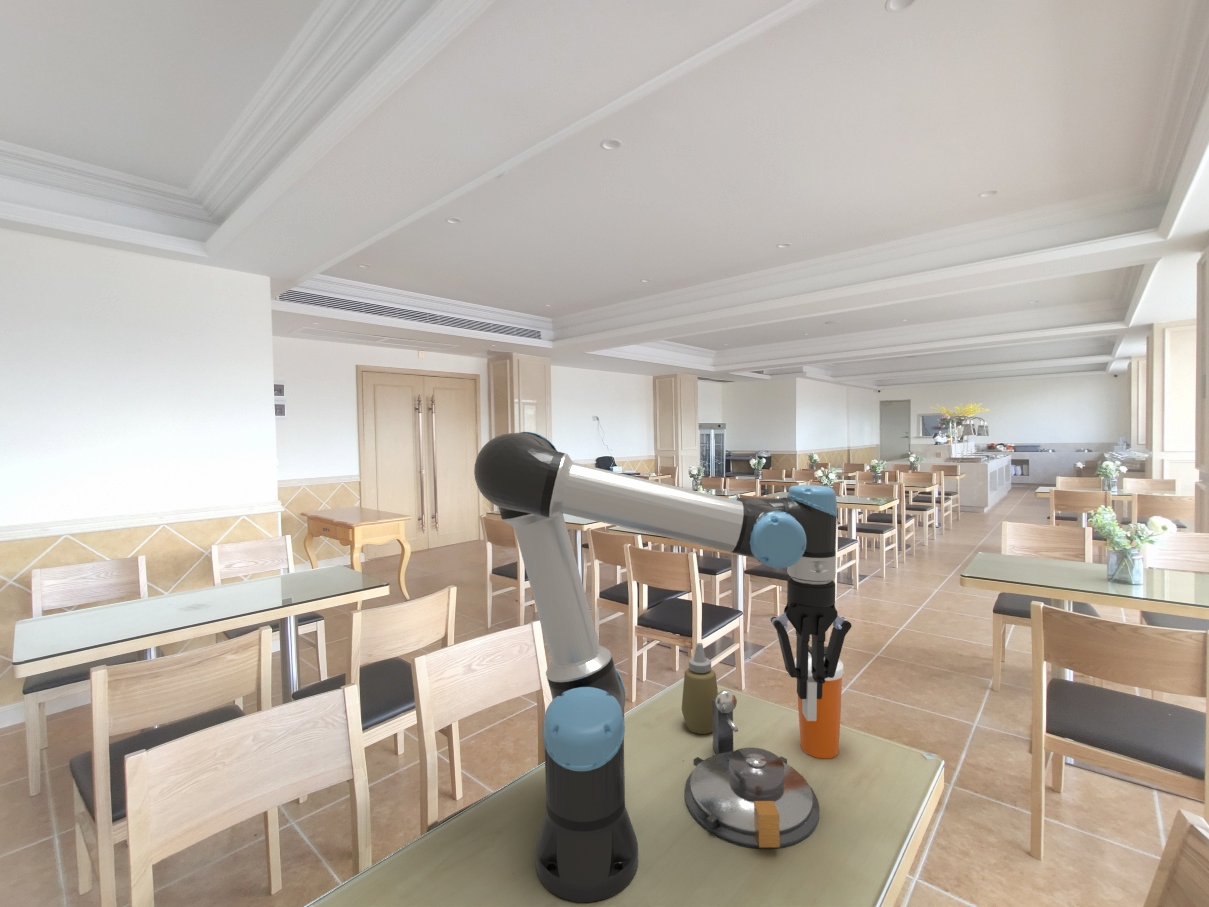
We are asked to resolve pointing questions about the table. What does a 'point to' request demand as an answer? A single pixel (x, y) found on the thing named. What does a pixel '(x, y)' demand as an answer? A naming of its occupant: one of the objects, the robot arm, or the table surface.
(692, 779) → the platter
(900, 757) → the table surface
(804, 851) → the table surface
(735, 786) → the cover
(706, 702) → the squeeze bottle
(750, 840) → the turntable base
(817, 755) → the shaker bottle
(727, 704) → the indicator post
